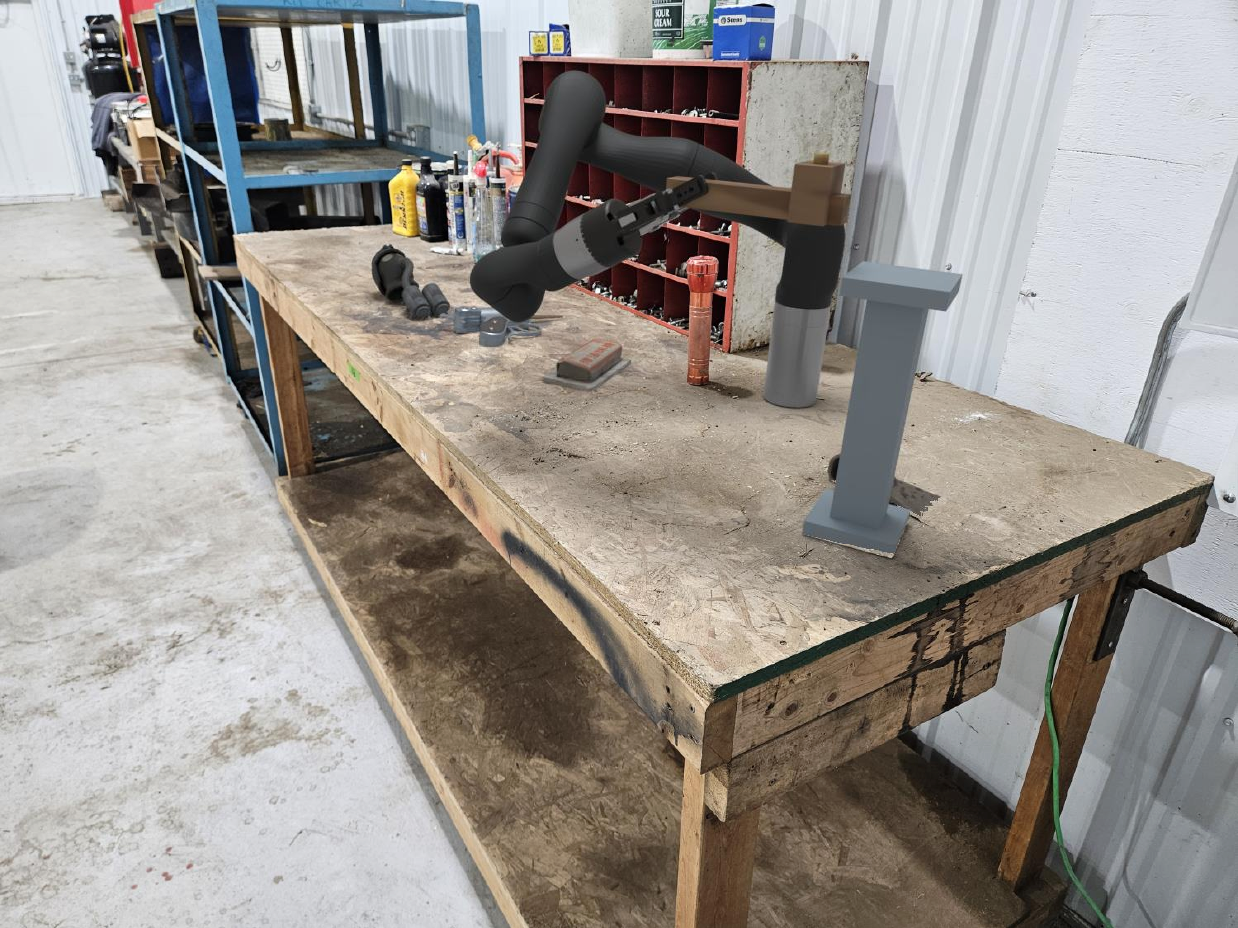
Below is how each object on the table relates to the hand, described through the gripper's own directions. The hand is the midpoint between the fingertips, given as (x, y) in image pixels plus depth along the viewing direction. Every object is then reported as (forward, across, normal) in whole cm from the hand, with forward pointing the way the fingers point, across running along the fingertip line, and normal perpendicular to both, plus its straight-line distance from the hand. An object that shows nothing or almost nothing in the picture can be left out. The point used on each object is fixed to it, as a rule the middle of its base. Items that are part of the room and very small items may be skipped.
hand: (710, 182), depth 94 cm
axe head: (+4, +12, +48) cm, 50 cm away
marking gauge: (+3, 0, +5) cm, 6 cm away
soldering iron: (-72, +46, +6) cm, 86 cm away
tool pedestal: (+1, 0, +46) cm, 46 cm away
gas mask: (-100, +50, -11) cm, 112 cm away
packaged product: (-50, +32, +18) cm, 62 cm away
